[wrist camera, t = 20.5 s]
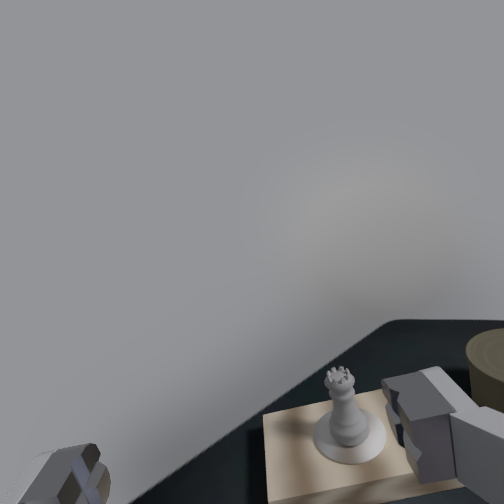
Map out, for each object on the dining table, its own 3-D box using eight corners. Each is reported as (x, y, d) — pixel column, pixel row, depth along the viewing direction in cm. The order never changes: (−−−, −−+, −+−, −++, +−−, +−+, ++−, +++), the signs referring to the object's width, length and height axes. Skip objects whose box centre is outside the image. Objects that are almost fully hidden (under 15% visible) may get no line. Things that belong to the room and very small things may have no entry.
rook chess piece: (326, 422, 40) (313, 366, 38) (362, 414, 40) (351, 357, 38) (336, 453, 36) (322, 391, 34) (377, 443, 36) (365, 381, 34)
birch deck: (274, 524, 34) (267, 499, 33) (268, 432, 45) (262, 412, 45) (472, 484, 33) (469, 458, 32) (413, 401, 44) (410, 380, 44)
